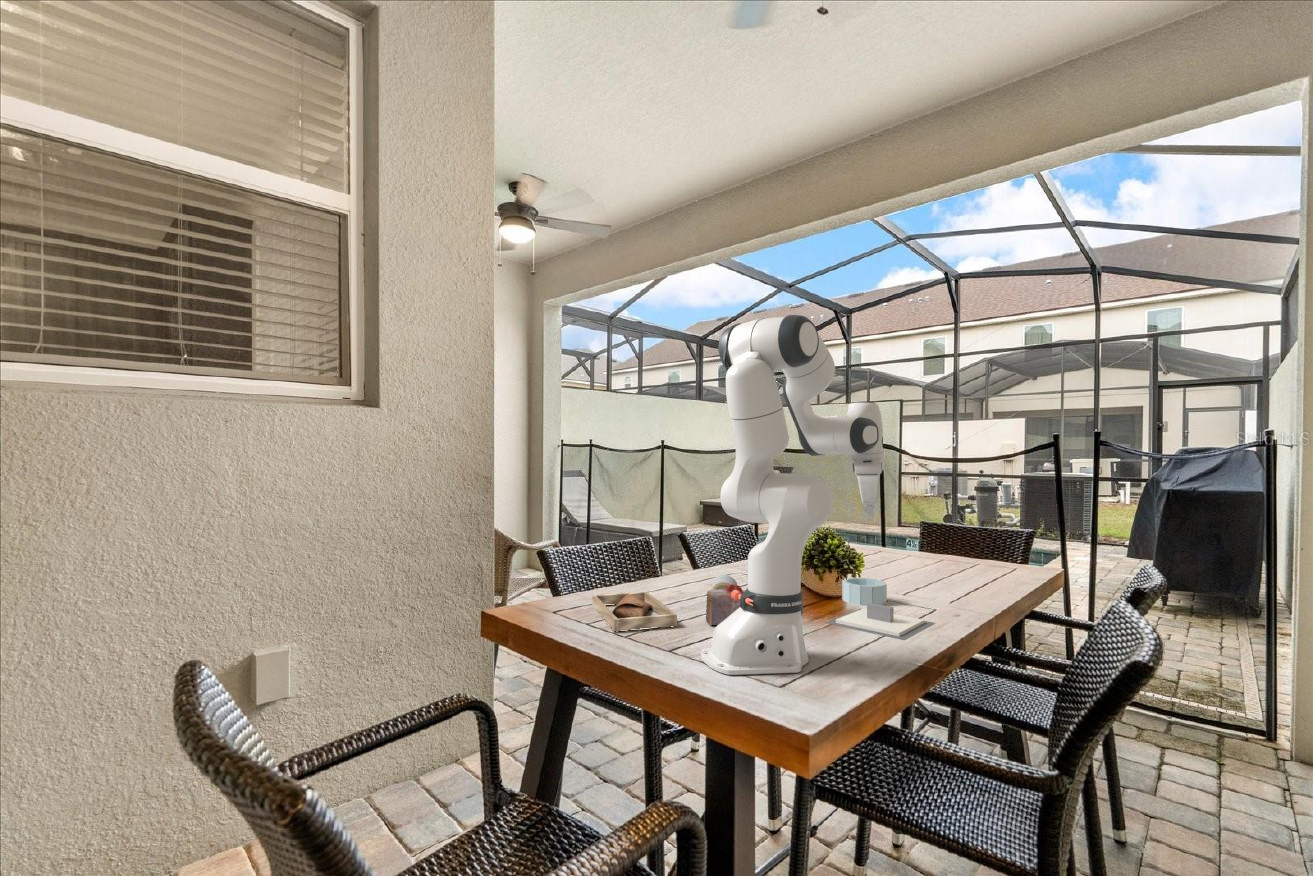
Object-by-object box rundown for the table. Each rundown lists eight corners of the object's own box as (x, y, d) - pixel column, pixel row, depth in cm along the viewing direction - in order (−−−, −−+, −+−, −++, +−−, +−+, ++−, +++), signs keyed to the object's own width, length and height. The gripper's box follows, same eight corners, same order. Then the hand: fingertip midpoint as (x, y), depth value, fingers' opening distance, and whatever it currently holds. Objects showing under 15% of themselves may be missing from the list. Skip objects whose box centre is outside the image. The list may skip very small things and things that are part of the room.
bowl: (859, 609, 167) (859, 587, 167) (834, 599, 178) (834, 579, 179) (895, 606, 171) (895, 585, 171) (868, 596, 182) (868, 576, 182)
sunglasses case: (644, 623, 149) (630, 599, 149) (619, 636, 149) (606, 613, 150) (653, 605, 167) (641, 584, 167) (631, 617, 167) (619, 596, 168)
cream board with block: (899, 636, 140) (898, 618, 140) (835, 622, 151) (835, 605, 151) (924, 623, 151) (924, 605, 152) (864, 611, 163) (863, 595, 163)
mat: (904, 642, 137) (904, 640, 137) (824, 625, 151) (824, 622, 151) (935, 625, 151) (935, 623, 151) (860, 610, 165) (860, 608, 165)
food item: (756, 619, 157) (756, 581, 157) (763, 627, 149) (764, 588, 149) (704, 619, 155) (704, 581, 156) (709, 628, 147) (709, 588, 148)
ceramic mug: (710, 607, 168) (710, 579, 169) (711, 599, 177) (712, 573, 177) (748, 609, 167) (748, 581, 167) (748, 602, 175) (748, 575, 175)
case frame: (614, 632, 143) (614, 619, 143) (592, 606, 168) (592, 595, 168) (677, 627, 148) (677, 615, 148) (646, 602, 173) (646, 591, 173)
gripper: (853, 459, 167) (855, 508, 168) (854, 468, 148) (857, 523, 148) (877, 458, 165) (879, 508, 166) (881, 467, 146) (884, 523, 146)
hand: (869, 515), depth 157 cm, fingers open, 8 cm apart
